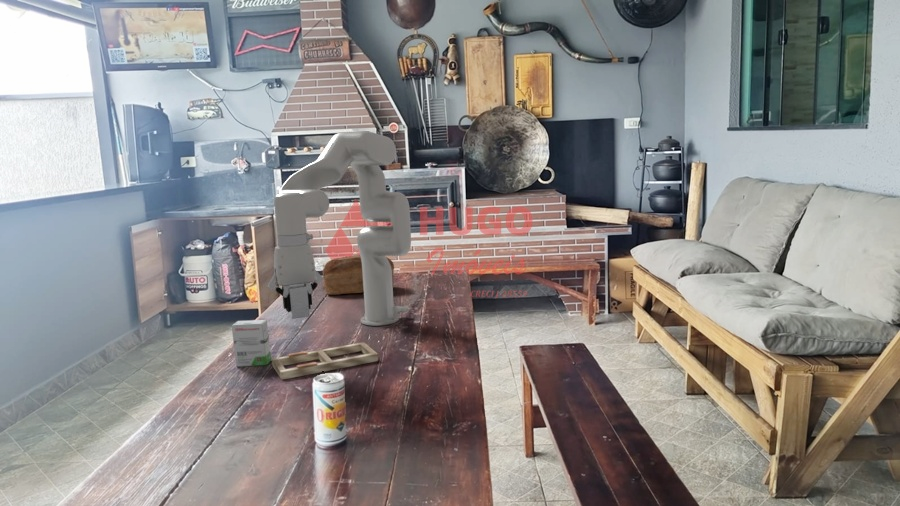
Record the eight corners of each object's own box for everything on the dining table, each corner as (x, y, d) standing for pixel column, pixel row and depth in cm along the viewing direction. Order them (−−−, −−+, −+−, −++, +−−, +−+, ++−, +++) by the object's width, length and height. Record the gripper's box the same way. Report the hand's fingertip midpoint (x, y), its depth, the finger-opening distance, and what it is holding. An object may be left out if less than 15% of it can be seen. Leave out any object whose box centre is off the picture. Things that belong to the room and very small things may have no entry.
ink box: (272, 359, 179) (268, 318, 177) (266, 365, 175) (262, 323, 172) (241, 360, 180) (237, 319, 178) (235, 367, 175) (230, 325, 173)
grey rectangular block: (305, 312, 172) (302, 283, 171) (309, 316, 168) (307, 286, 167) (288, 315, 170) (285, 285, 169) (292, 319, 166) (289, 288, 165)
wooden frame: (364, 348, 185) (363, 340, 185) (378, 360, 175) (377, 352, 174) (272, 365, 174) (271, 356, 174) (281, 379, 164) (280, 370, 163)
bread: (396, 292, 253) (394, 256, 250) (323, 297, 249) (320, 261, 247) (394, 285, 265) (392, 251, 262) (325, 290, 261) (322, 255, 258)
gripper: (320, 235, 173) (325, 301, 176) (256, 242, 166) (262, 311, 169) (328, 239, 166) (333, 307, 169) (261, 246, 159) (268, 317, 162)
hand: (298, 308), depth 169 cm, fingers closed on grey rectangular block, 4 cm apart
